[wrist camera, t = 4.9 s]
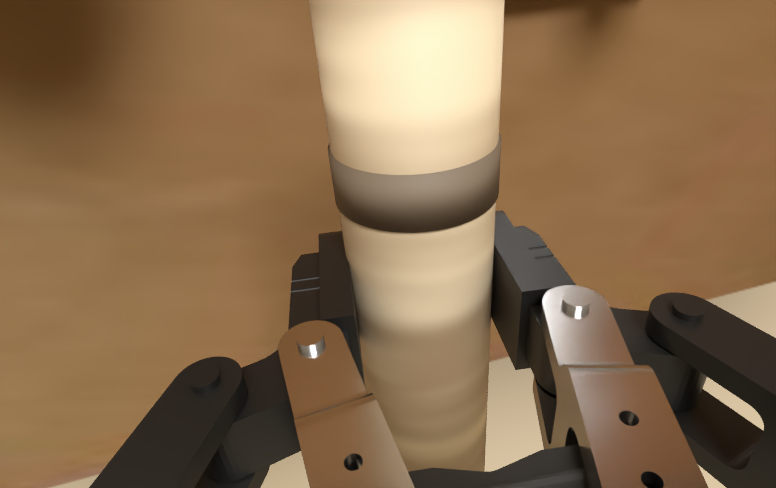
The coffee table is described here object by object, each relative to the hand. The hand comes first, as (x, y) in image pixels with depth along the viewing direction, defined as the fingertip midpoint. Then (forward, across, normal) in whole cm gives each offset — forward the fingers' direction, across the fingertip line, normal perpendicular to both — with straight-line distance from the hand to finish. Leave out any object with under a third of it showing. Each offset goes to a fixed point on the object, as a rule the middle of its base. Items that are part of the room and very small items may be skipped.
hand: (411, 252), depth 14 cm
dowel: (-1, 0, 0) cm, 1 cm away
